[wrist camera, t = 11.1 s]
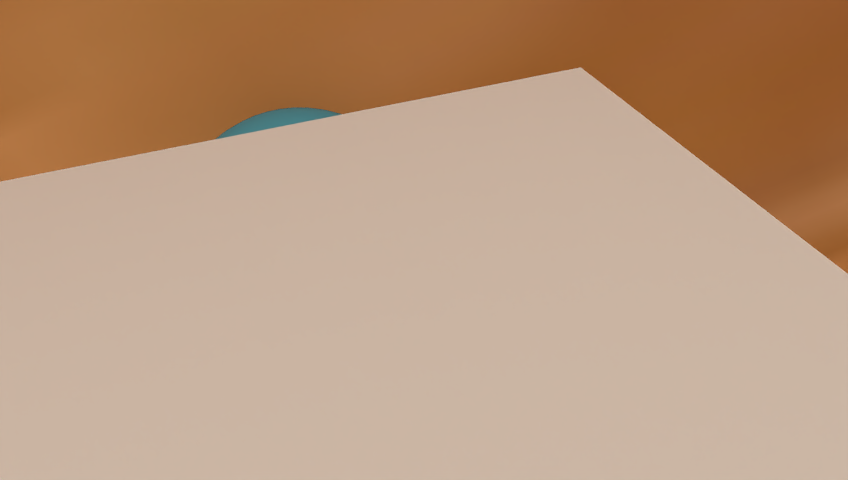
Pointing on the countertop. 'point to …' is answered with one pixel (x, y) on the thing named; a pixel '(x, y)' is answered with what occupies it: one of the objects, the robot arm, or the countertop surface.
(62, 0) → the countertop surface
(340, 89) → the countertop surface
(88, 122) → the countertop surface
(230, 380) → the beige block
